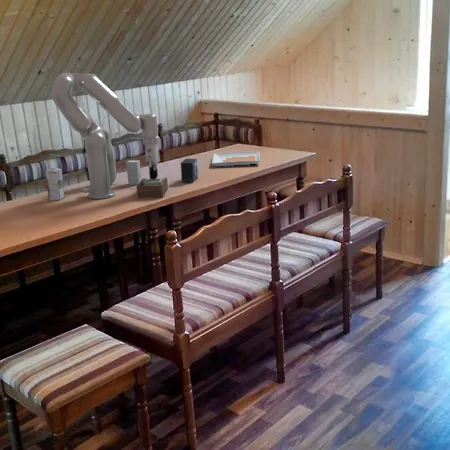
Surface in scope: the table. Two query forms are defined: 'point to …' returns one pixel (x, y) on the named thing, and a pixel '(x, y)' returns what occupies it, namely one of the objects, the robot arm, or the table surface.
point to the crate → (152, 181)
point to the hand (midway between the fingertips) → (153, 177)
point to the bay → (152, 190)
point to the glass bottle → (110, 157)
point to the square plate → (220, 157)
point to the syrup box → (55, 184)
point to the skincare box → (133, 172)
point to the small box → (189, 170)
